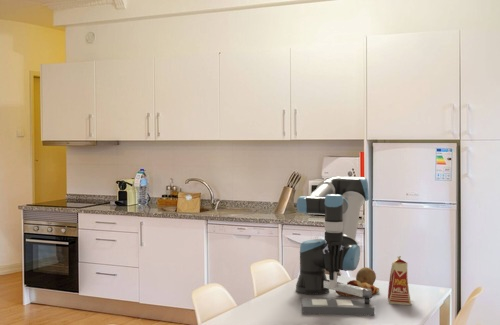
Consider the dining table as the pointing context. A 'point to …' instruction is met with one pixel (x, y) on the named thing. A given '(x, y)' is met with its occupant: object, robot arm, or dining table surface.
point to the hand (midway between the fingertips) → (333, 287)
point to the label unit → (338, 306)
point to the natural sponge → (366, 276)
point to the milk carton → (399, 283)
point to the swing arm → (350, 289)
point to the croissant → (359, 284)
